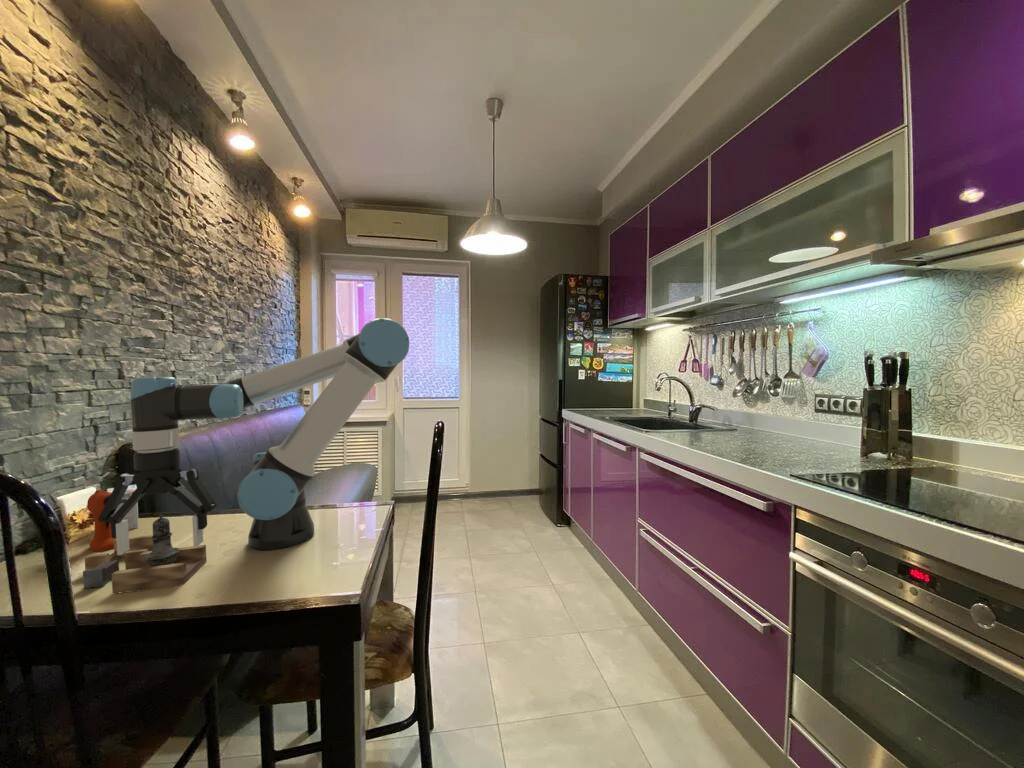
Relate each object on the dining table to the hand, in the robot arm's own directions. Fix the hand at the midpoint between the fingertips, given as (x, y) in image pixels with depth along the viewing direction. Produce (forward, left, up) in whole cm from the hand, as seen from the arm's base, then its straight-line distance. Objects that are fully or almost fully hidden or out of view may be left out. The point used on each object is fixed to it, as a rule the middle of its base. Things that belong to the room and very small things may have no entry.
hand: (161, 548), depth 91 cm
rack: (0, 0, -6) cm, 6 cm away
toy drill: (+20, -22, -6) cm, 30 cm away
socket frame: (+11, -12, -6) cm, 17 cm away
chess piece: (0, 0, -5) cm, 5 cm away
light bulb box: (+28, -42, -6) cm, 51 cm away
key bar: (+11, -2, -6) cm, 13 cm away
